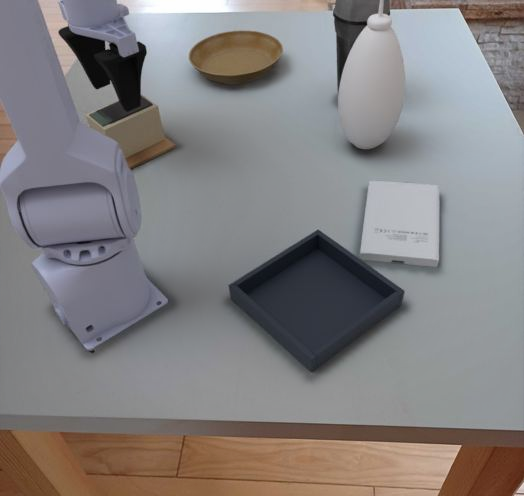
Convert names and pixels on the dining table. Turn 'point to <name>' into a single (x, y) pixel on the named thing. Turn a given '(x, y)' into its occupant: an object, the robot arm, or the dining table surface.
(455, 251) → the dining table surface
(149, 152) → the coaster
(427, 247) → the hard drive
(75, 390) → the dining table surface
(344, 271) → the tray
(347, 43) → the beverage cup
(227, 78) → the plant saucer
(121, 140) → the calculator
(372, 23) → the sauce bottle
